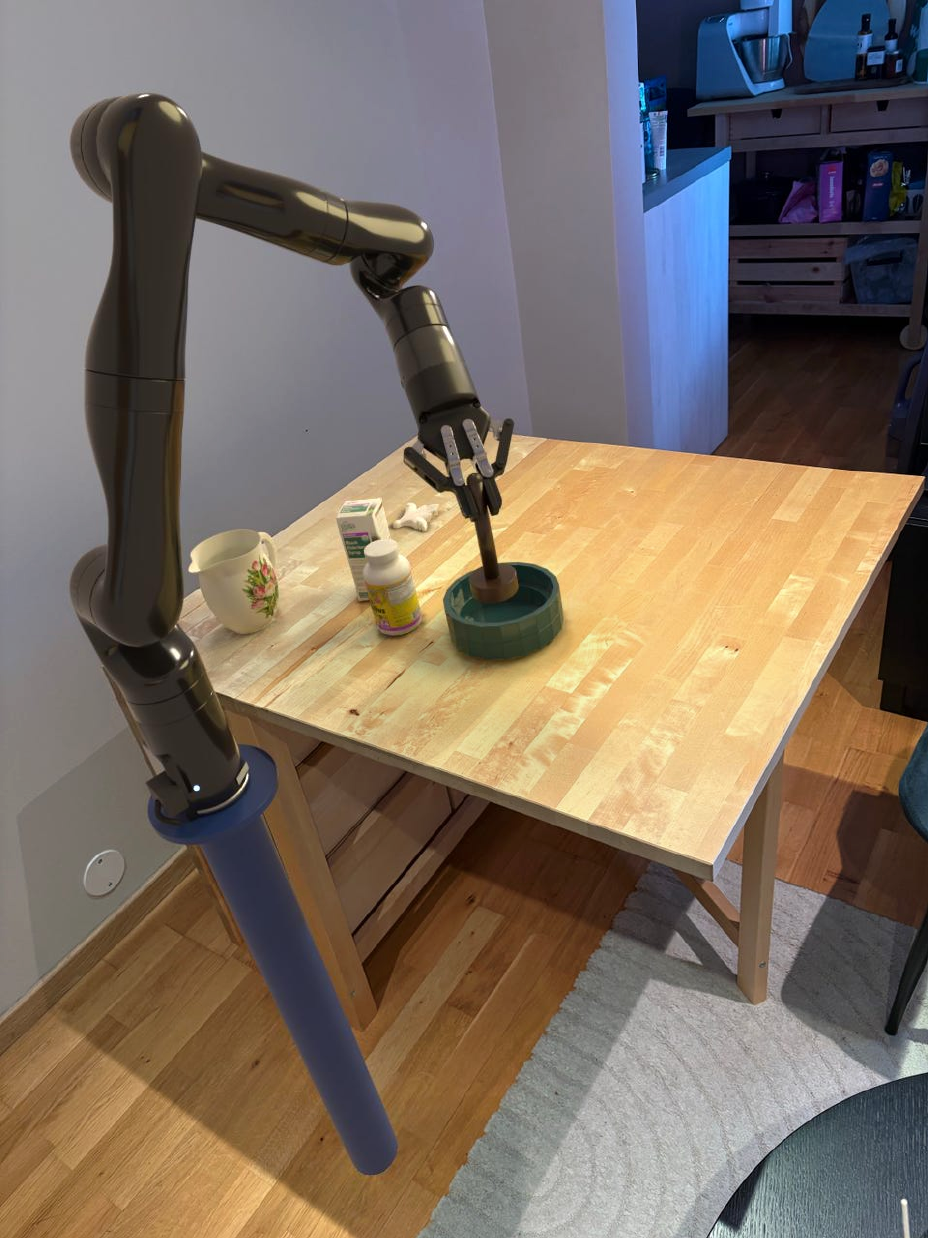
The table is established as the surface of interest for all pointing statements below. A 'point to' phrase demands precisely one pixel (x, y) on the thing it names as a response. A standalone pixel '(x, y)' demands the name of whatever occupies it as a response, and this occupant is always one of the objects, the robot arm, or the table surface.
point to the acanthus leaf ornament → (417, 516)
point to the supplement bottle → (391, 588)
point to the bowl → (506, 616)
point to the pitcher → (238, 578)
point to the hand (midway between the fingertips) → (485, 515)
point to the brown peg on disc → (488, 554)
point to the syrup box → (361, 535)
